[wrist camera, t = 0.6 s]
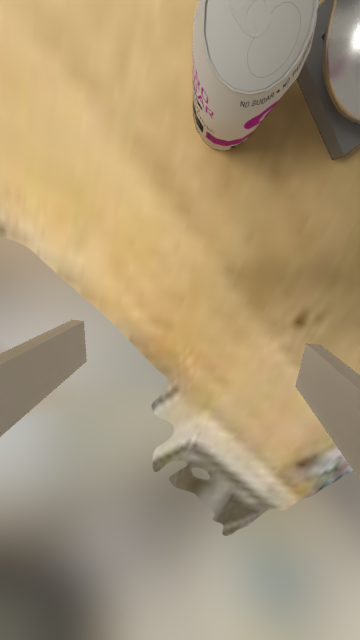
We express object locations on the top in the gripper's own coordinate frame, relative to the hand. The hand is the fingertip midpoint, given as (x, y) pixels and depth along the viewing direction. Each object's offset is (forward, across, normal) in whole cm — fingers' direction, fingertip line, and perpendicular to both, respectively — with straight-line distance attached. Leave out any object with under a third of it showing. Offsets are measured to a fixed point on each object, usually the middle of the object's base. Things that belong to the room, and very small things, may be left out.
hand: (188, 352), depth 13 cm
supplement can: (+22, +1, +23) cm, 32 cm away
